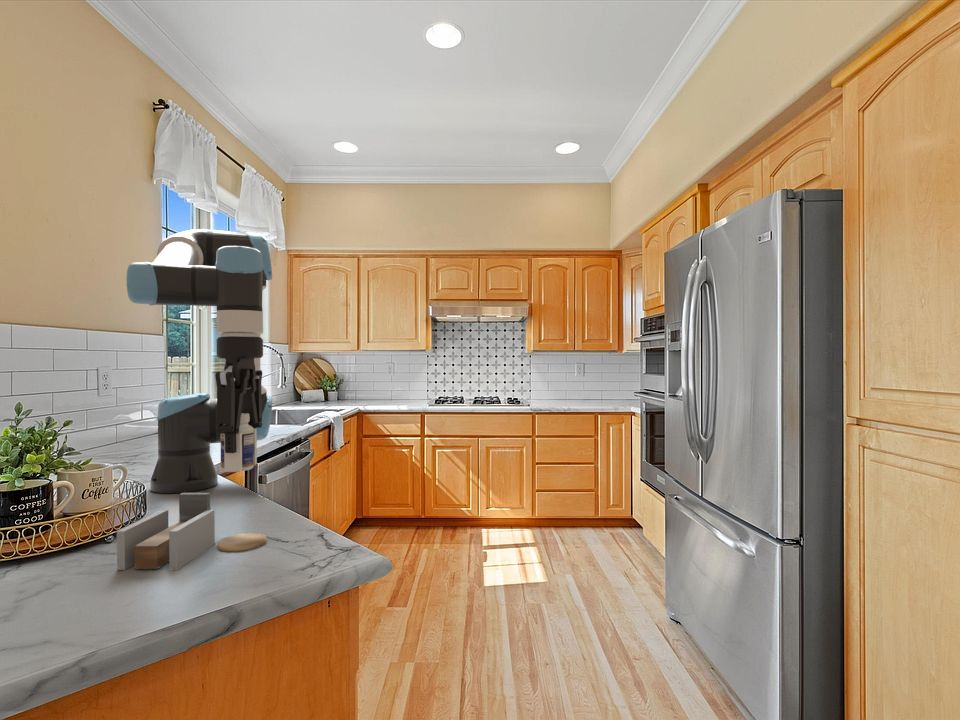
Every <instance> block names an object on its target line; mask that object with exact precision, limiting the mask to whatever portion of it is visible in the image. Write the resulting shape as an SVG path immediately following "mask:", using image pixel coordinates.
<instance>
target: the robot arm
mask: <svg viewBox="0 0 960 720" xmlns="http://www.w3.org/2000/svg"><path fill="white" fill-rule="evenodd" d="M271 261H272V260H271V254H270V248H269V243H268V239H267V237H266V236H264V235H263V234H261V233H257V232H248V231H235V230H234V231H232V230H218V229H217V230H216V229H206V228H201V229H200V228H199V229H198V228H197V229H196V228H195V229H189V230H185V231H180V232H177V233H175V234H172V235H170V236H168V237H166V238H165V239H163V240H162V241H161V243H160V244H159V246H158V248H157V252H156V257H155V258H154V260H153V261H152V262H149V261H144V262H131V263H130V264H129V265H128V267H127V270H126V292H127V296H128V298H129V301H131V303H132V304H133V303H134V304H137V305H149V306H163V305H164V306H195V307H196V306H198V307H216V317H215V318H214V322H216V333H217V334H218V335H220V337H219V336H218V337H217V338H216V357H217V358H218V359H224V368H223V371H216V372H215V375H214V376H215V383H216V397H215V398H214V397H212V398H211V395H210V393H209V392H201V393H191V394H183V395H179V396H172V397H169V398H165V399H162V400H161V401H160V402H159V403H158V406H157V417H156V420H157V453H158V454H157V460H156V464H155V466H154V470H153V473H152V474H151V478H150V486H149V490H150V491H151V492H154V493H159V494H179V493H180V494H181V493H191V492H195V491H196V492H197V491H201V490H206V489H208V488H212V487H215V486H217V485H218V483H219V482H218V479H219V478H218V472H217V470H216V467H215V464H214V462H213V459H212V456H211V444H221V437H220V434H224V471H223V472H224V473H241V472H243V471H242V433H239V427H240V418H241V413H248V414H249V417H250V420H249V422H248V425H250V426H252V427H253V429H254V466H256V465H257V464H258V460H257V459H258V456H257V455H258V453H257V452H258V450H257V447H258V446H257V444H258V443H257V441H262V440H265V439H266V438H267V436H268V434H269V432H270V427H271V426H270V425H271V420H272V413H273V412H272V410H273V397H272V396H270V395H267V392H268V391H267V389H266V388H265V387H264V386H263V385H262V378H263V371H262V369H261V358H263V357H264V339H263V338H262V337H261V335H263V334H264V311H263V310H264V309H263V291H264V289H266V288H267V281H271V280H273V271H272V269H273V268H272V262H271Z"/></svg>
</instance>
